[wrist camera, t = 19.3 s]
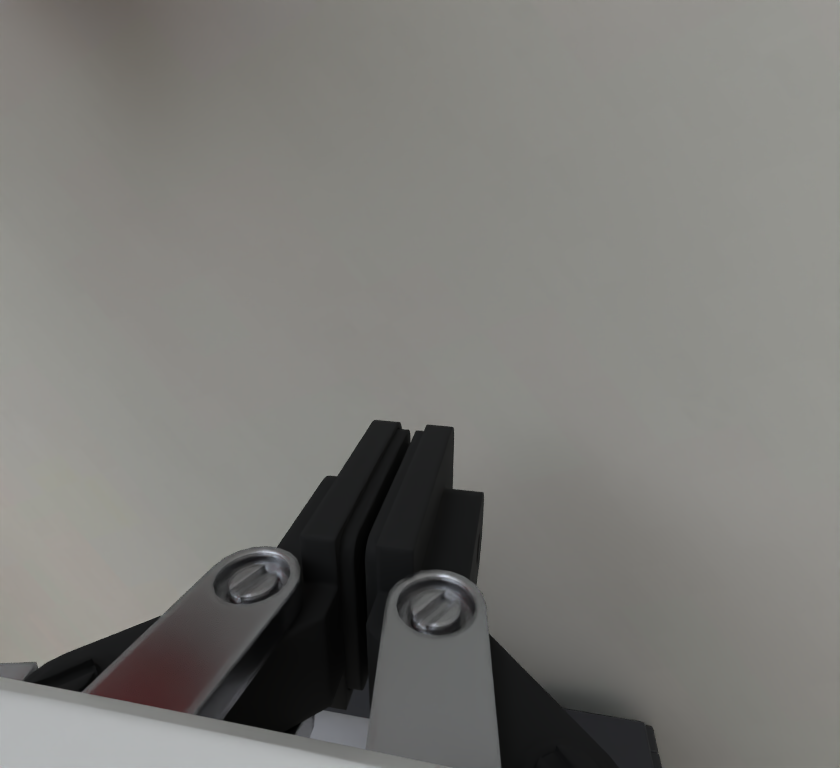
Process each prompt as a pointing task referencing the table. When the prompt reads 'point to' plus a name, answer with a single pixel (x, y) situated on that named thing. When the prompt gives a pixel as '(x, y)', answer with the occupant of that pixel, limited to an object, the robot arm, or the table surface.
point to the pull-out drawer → (611, 733)
